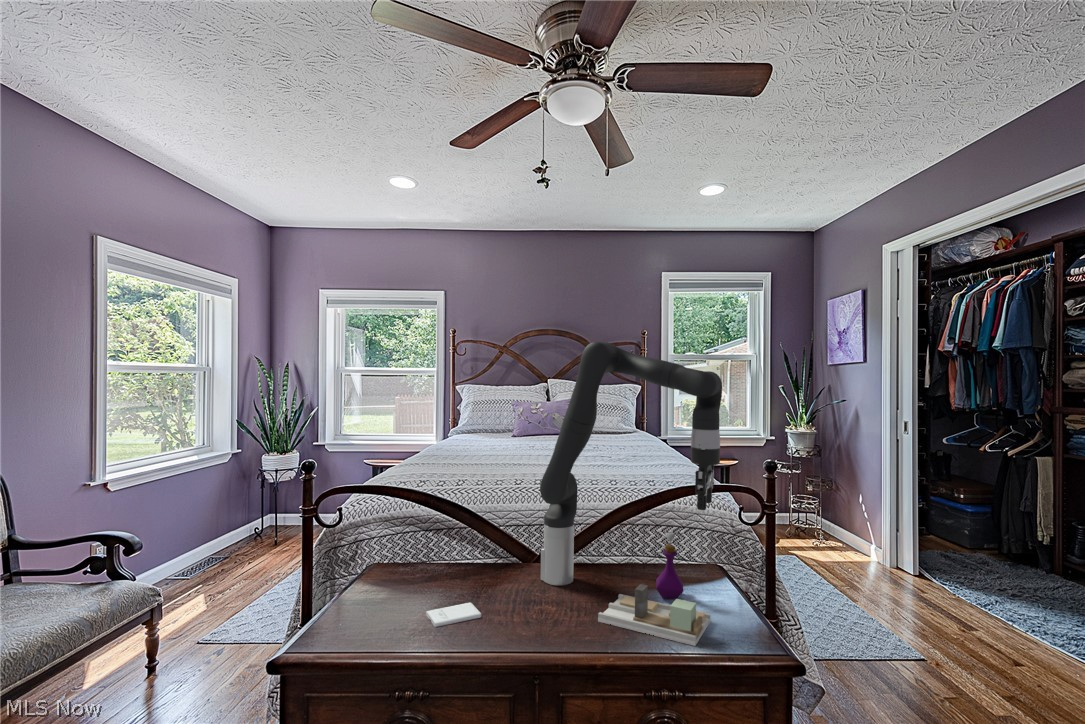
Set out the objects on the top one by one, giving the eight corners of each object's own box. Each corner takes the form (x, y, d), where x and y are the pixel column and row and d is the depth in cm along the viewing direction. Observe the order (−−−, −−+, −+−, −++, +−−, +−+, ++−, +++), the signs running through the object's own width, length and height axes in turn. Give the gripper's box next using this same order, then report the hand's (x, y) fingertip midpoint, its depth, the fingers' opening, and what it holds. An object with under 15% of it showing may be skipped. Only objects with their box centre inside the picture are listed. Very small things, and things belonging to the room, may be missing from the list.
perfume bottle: (683, 602, 158) (684, 538, 158) (656, 600, 160) (656, 536, 160) (682, 592, 166) (682, 530, 166) (656, 590, 167) (656, 528, 167)
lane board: (598, 621, 146) (598, 611, 146) (619, 600, 159) (620, 591, 159) (695, 646, 134) (695, 635, 134) (710, 621, 147) (710, 611, 147)
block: (670, 626, 138) (670, 605, 138) (676, 618, 142) (676, 598, 142) (690, 631, 136) (690, 610, 136) (696, 623, 140) (696, 603, 140)
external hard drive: (481, 619, 148) (434, 629, 142) (470, 607, 155) (425, 616, 149) (481, 613, 148) (434, 622, 142) (470, 601, 155) (425, 610, 149)
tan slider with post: (633, 622, 143) (633, 589, 143) (640, 614, 147) (640, 583, 147) (696, 637, 135) (697, 603, 135) (702, 629, 139) (702, 596, 139)
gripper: (696, 441, 160) (695, 499, 160) (685, 447, 147) (684, 510, 147) (723, 443, 157) (723, 502, 157) (715, 450, 144) (714, 514, 144)
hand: (704, 506), depth 152 cm, fingers open, 8 cm apart
